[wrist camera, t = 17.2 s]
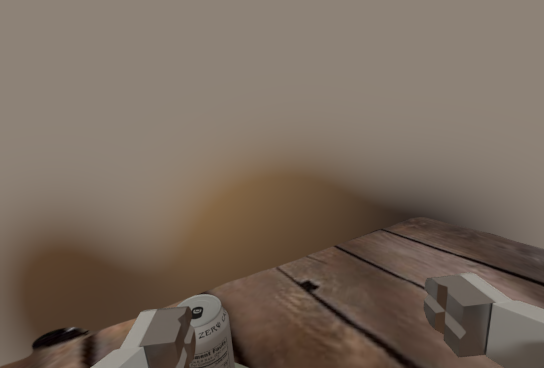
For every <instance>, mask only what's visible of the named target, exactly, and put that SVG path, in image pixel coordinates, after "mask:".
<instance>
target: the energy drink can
mask: <svg viewBox="0 0 544 368" xmlns="http://www.w3.org/2000/svg"><path fill="white" fill-rule="evenodd" d="M183 306H189V307H190V308H191V313H192V320H191V323H190V325H192V326H193V327H194V329H195V335H196V348H195V355H194V360H193V361H192V362H191V363H190V364H189V368H235V364H234V356H233V348H232V340H231V332H230V324H229V316H228V313H227V311H226V310H225V309H224V308H223V307H222V306H221V302H220V300H219V299H218V298H217V297H215V296H213V295H208V294H202V295H196V296H193V297H190V298H188V299H186V300H184V301H183V302H181V303H180V304H179V305H178V306H177V307H183Z"/></svg>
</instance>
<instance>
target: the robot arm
mask: <svg viewBox="0 0 544 368" xmlns="http://www.w3.org/2000/svg"><path fill="white" fill-rule="evenodd" d="M425 290H426V291H427V293H428V296H427V297H426V298H425V300H424V311H425V315H426V318H427V320H428V321H429V323H430V325H431V326H432V327H433V328H434V329H435V330H436V331H438V332H440V333H442V334H444V341H445V342H446V344H447V345H448V346H449V347H450V348H451V349H452V350H453V352H454V353H455V354H456V355H457V356H458V357H468V356H478V355H486V357H488V358H490V359H491V360H493V361H495V362H496V363H498V364H499V365H501V366H503V367H504V368H544V309H542V308H539V307H536V306H533V305H530V304H527V303H524V302H521V301H513V300H511V299H510V298H508V297H507V296H506V295H504V294H503V293H501V292H500V291H499V290H497V289H496V288H494V287H493V286H491V285H490V284H489V283H487V282H486V281H484V280H483V279H481V278H480V277H479V276H477V275H476V274H474V273H470V272H468V273H461V274H455V275H450V276H442V277H434V278H427V280H426V282H425ZM191 320H192V313H191V308H190V307H189V306H183V307H172V308H162V309H153V310H145V311H142V312H141V313H140V314H139V316H138V318H137V319H136V321H135V323H134V325H133V326H132V328H131V330H130V332H129V333H128V335H127V337H126V339H125V340H124V342H123V344H122V346H121V347H120V349H118V350H114V351H112V352H111V353H110V354H108V355H107V356H106V357H104V358H103V359H102V360H100V361H99V362H98V363H96V364H95V365H94V366H92V367H91V368H189V364H190V363H191V362H192V361H193V360H194V355H195V348H196V335H195V329H194V327H193V326H192V325H190V323H191Z"/></svg>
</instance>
